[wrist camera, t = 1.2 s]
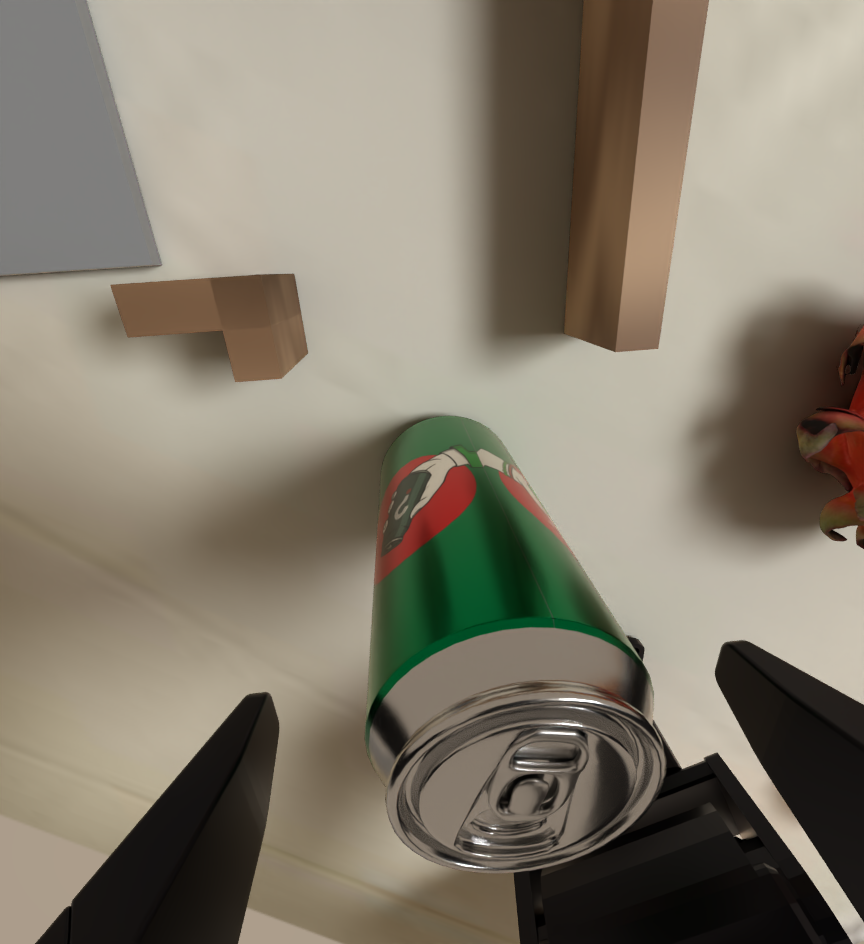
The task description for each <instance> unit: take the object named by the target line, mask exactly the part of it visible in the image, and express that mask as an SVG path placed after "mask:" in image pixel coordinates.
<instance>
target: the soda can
mask: <svg viewBox="0 0 864 944" xmlns="http://www.w3.org/2000/svg"><path fill="white" fill-rule="evenodd" d="M653 711H654V691H653V687H652V683H651V678H650V675H649V673H648V671H647V670H646V668H645V666H644V664H643V662H642V660H641V659H640V657H639V655H638V654H637V652H636V651H635V649H634V648H633V646H632V644H631V643H630V641H629V640H628V638H627V637H626V635H625V634H624V632H623V630H622V629H621V627H620V626H619V624H618V623H617V621H616V619H615V618H614V616H613V615H612V613H611V612H610V610H609V609H608V607H607V605H606V604H605V602H604V601H603V599H602V598H601V596H600V594H599V593H598V591H597V590H596V588H595V587H594V585H593V583H592V582H591V580H590V579H589V577H588V576H587V574H586V573H585V571H584V569H583V568H582V566H581V565H580V563H579V562H578V560H577V558H576V557H575V555H574V554H573V552H572V551H571V549H570V548H569V546H568V544H567V543H566V541H565V540H564V538H563V537H562V535H561V533H560V532H559V530H558V529H557V527H556V526H555V524H554V522H553V521H552V519H551V518H550V516H549V515H548V513H547V512H546V510H545V508H544V507H543V505H542V504H541V502H540V501H539V499H538V497H537V496H536V494H535V493H534V491H533V490H532V488H531V487H530V485H529V483H528V482H527V480H526V479H525V477H524V476H523V474H522V472H521V471H520V469H519V468H518V466H517V465H516V463H515V461H514V460H513V458H512V457H511V455H510V454H509V452H508V451H507V449H506V447H505V446H504V444H503V443H502V441H501V440H500V439H499V438H498V436H497V435H496V434H495V433H493V432H492V431H491V430H490V429H489V428H487V427H486V426H484V425H482V424H481V423H479V422H476V421H474V420H471V419H468V418H464V417H458V416H440V417H435V418H430V419H427V420H424V421H422V422H419V423H417V424H415V425H413V426H412V427H410V428H408V429H407V430H406V431H405V432H403V433H402V434H401V435H400V436H399V437H398V438H397V439H396V440H395V441H394V442H393V444H392V445H391V447H390V448H389V450H388V451H387V453H386V456H385V458H384V460H383V464H382V468H381V478H380V495H379V511H378V527H377V544H376V560H375V577H374V593H373V610H372V626H371V642H370V659H369V675H368V692H367V708H366V725H365V743H366V749H367V754H368V757H369V759H370V761H371V764H372V766H373V768H374V770H375V771H376V773H377V775H378V776H379V778H380V779H381V781H382V782H383V784H384V785H385V787H386V797H385V801H386V807H387V813H388V817H389V820H390V823H391V825H392V827H393V829H394V832H395V833H396V834H397V836H398V837H399V838H400V840H401V841H402V842H403V843H404V844H405V845H406V846H407V847H409V848H410V849H411V850H412V851H413V852H415V853H417V854H418V855H420V856H422V857H423V858H425V859H427V860H429V861H432V862H434V863H437V864H439V865H442V866H445V867H449V868H453V869H457V870H462V871H469V872H476V873H515V872H523V871H531V870H536V869H541V868H546V867H550V866H554V865H558V864H561V863H564V862H568V861H571V860H574V859H576V858H579V857H581V856H584V855H586V854H589V853H591V852H593V851H595V850H597V849H599V848H601V847H603V846H605V845H606V844H608V843H610V842H611V841H613V840H614V839H616V838H618V837H619V836H621V835H622V834H623V833H625V832H626V831H627V830H628V829H630V828H631V827H632V826H633V825H635V824H636V823H637V822H638V821H639V820H640V819H641V818H642V817H643V816H644V815H645V814H646V813H647V811H648V810H649V809H650V807H651V806H652V805H653V803H654V802H655V800H656V799H657V797H658V795H659V793H660V791H661V789H662V787H663V783H664V779H665V775H666V757H665V753H664V748H663V744H662V741H661V738H660V736H659V735H658V733H657V731H656V729H655V727H654V726H653V725H652V724H653Z"/></svg>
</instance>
